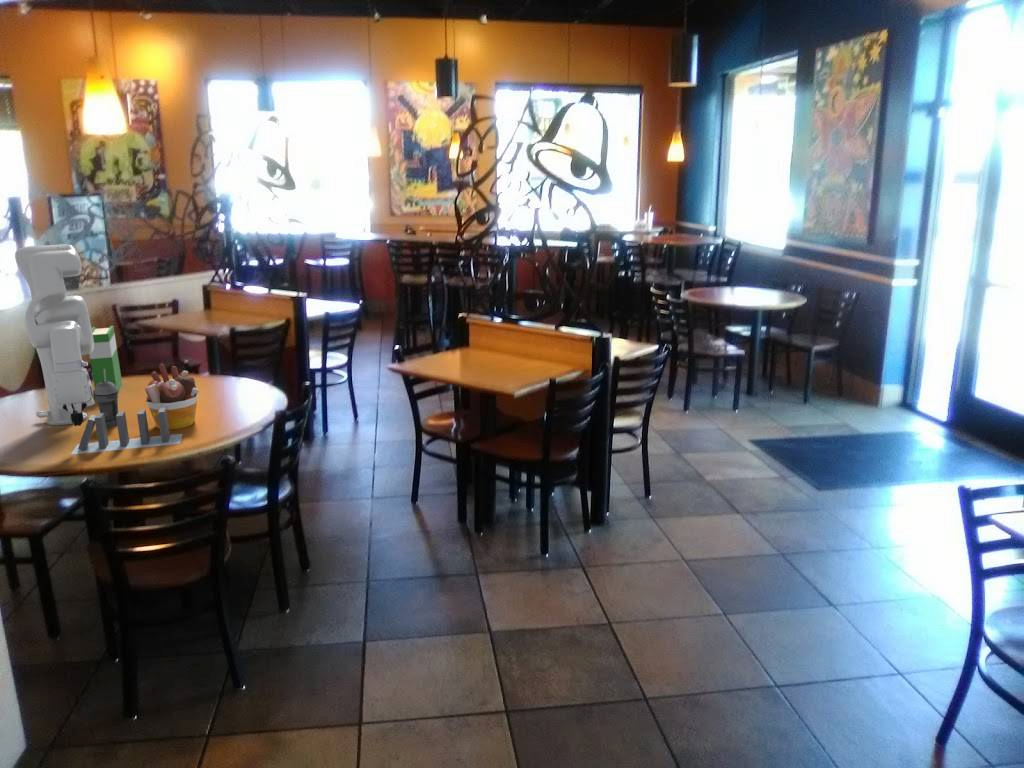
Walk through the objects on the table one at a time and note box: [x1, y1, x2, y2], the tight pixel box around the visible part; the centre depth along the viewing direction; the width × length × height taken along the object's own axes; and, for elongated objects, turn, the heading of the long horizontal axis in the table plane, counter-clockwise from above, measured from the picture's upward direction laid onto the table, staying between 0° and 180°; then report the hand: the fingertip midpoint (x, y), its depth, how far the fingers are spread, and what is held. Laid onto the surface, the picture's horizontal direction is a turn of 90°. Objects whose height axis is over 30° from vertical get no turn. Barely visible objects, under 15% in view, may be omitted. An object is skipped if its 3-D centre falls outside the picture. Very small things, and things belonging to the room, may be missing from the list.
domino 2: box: [95, 412, 109, 449], centre depth 253 cm, size 2×5×10 cm, turn 16°
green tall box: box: [88, 325, 123, 394], centre depth 317 cm, size 18×7×24 cm, turn 20°
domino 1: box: [78, 414, 96, 450], centre depth 252 cm, size 2×5×10 cm, turn 16°
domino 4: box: [136, 408, 151, 445], centre depth 256 cm, size 2×5×10 cm, turn 16°
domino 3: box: [116, 410, 130, 447], centre depth 254 cm, size 2×5×10 cm, turn 16°
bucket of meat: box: [144, 363, 201, 431], centre depth 272 cm, size 20×16×20 cm
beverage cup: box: [93, 369, 119, 429], centre depth 273 cm, size 7×7×20 cm
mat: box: [70, 433, 184, 456], centre depth 256 cm, size 31×10×1 cm, turn 106°
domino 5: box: [158, 407, 171, 443], centre depth 257 cm, size 2×5×10 cm, turn 16°
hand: (78, 424), depth 250 cm, fingers closed
